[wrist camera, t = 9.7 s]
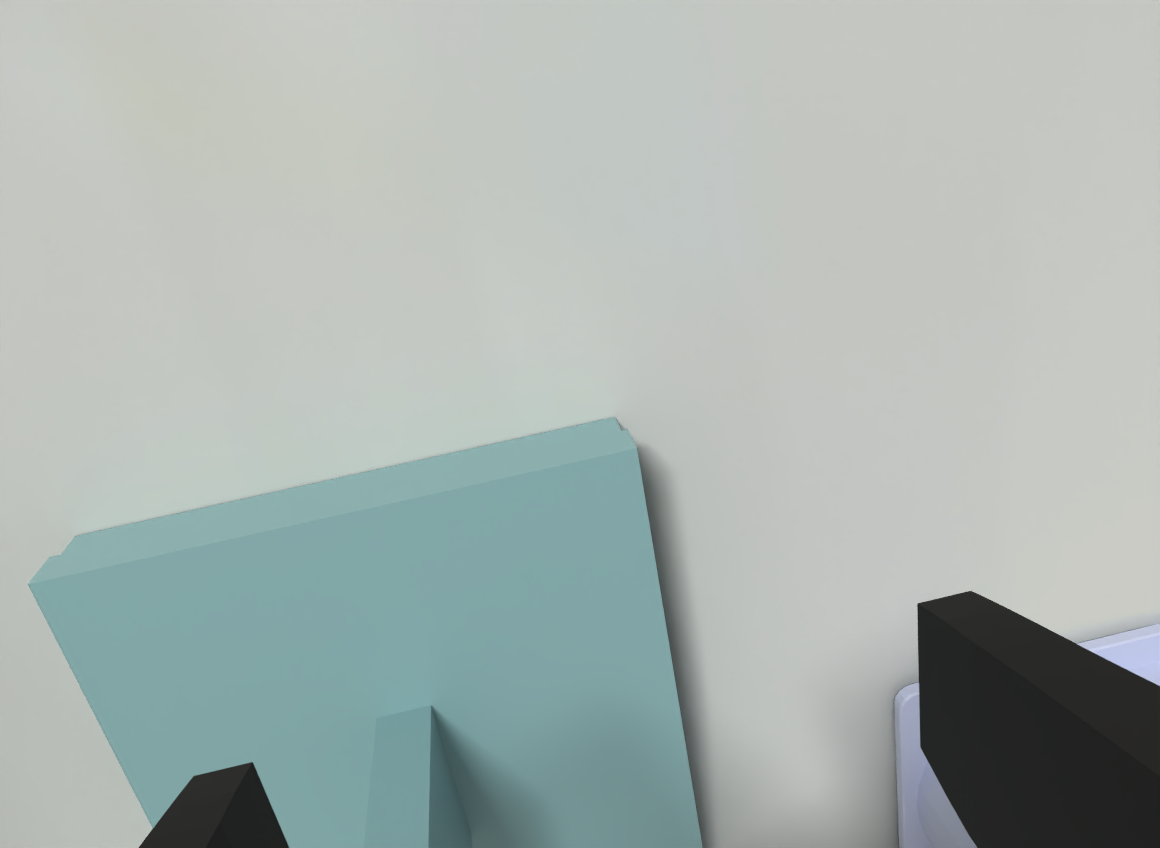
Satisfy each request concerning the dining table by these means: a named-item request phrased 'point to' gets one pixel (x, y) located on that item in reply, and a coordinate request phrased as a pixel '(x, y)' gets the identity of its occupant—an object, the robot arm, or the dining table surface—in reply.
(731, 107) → the dining table surface
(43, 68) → the dining table surface
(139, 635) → the lid
